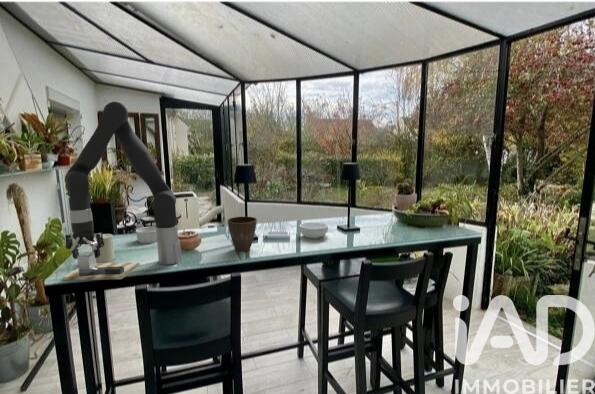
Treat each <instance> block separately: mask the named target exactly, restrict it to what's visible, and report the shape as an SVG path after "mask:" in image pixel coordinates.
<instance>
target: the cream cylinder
mask: <svg viewBox="0 0 595 394" xmlns="http://www.w3.org/2000/svg"><path fill="white" fill-rule="evenodd" d="M102 235H103V240H104V246H103V247H101V248H100V256H99V257H98V258H96V263H110V262H111V260H112V261H113V259H114V260H115V258H116V256H115V250H114V248H115V247H114V239H113V238H114V237H113V233H112V234H111V233H102ZM94 239H95V240H96V241H97V239H96V238H95V237H94ZM92 243H93V242H92ZM94 250H95V249H94V248H93V247H92V246H91V252H94Z"/></svg>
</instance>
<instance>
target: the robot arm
mask: <svg viewBox="0 0 595 394" xmlns="http://www.w3.org/2000/svg"><path fill="white" fill-rule="evenodd" d="M101 115H102V116H101V117H100V120H99V123H98V124H97V127H96V129H95V130H94V131H93V133H92V135H91V136H90V138H89V139H88V140H87V143H86V144H85V145H84V147H83V149H82V150H81V152H80V154H79V155H78V157H77V159H76V160H75V162H74V163H73V164H72V166H71V167H70V168H69V170H68V171H67V172H66V174H65V176H64V183H65V185H66V186H67V187H68V192H69V198H68V204H69V211H70V212H69V219H70V224H71V227H70V228H71V232H72V233H67V234H66V235H65V236H64V237H65V239H64V240H65V248H66V249H67V250H71V254H72V258H73V259H74V260H77V256H78V255H80V253H79V248H78V247H79V246H81V245H88V246H89V247H91V248H92V247H93V248H94V249H95V250H94V255H95V258H98V257H99V256H100V248H101V247H103V246H104V240H103V235H102V234H103V233H102V232H98V233H95V232H94V231H95V228H94V219H93V212H92V209H91V202H90V181H89V177H88V176H90V173H91V172H92V171H93V170H95V169H96V167H97V166H98V164H99V162H100V161H101V159H102V157H103V155H104V154H105V152H106V150H107V147H108V145H109V144H110V141H111V140H112V137H113V136H115V137H116V138H117V140H118V141H119V144H120V146H121V147H122V150H123V152H124V154H125V156H126V158H127V159H128V162H129V163H130V165H131V166H132V169H133V170H134V172H135V173H136V174H137V175H138V176H139V177H140V179H142V181H143V182H144V183H145V184H146V185H147V186H148V188H149V191H150V192H151V194H152V197H153V199H152V208H153V217H154V218H153V219H154V223H155V227H156V233H157V242H156V243H157V244H156V245H157V259H158V264H160V265H162V266H163V265H164V266H166V265H167V266H168V265H175V264H176V265H177V264H178V263H179V262H180V261H181V260H182V251H181V249H182V248H181V240H180V239H179V229H178V219H177V212H176V204H177V197H176V195H175V194H174V192H173V190H172V189H170V187H169V185H168V184H167V183H166V181H165V180H164V178H163V176H162V174H161V172H160V169H159V167H158V165H157V163H156V161H155V159H154V158H153V156H152V154H151V153H150V150H149V149H148V148H147V146H146V145H145V144H144V143H143V141H142V140H141V139H140V138H139V137H138V136H137V134H136V133H135V131H134V130H133V129H134V128H132V125H131V123H130V121H129V119H128V117H129V111H128V108H127V107H126V106H125V105H124V104H123V103H121V102H119V101H111V102H109V103H106V105H104V107H103V109H102V114H101ZM94 237H95V238H96V239H97V241H96V240H95V239H94ZM73 239H74V242H73ZM92 242H93V243H92Z"/></svg>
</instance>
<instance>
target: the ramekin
mask: <svg viewBox="0 0 595 394" xmlns="http://www.w3.org/2000/svg"><path fill="white" fill-rule="evenodd" d="M135 234H136V238H137V241H138V242H139V243H140V244H152V243H157V233H156V225H155V226H144V227H143V226H142V227H140V228H137V229H136V230H135Z"/></svg>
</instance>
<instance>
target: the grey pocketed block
mask: <svg viewBox="0 0 595 394" xmlns="http://www.w3.org/2000/svg"><path fill="white" fill-rule="evenodd" d="M76 260H77V266H78V267H77V269H78V268H79V270H90V269H92V268H94V267H95V266H97V265H96V258H95V255H94V252H92V251H88V252H87V251H86V252H82V253H79V255H78V256H77V259H76Z"/></svg>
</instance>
